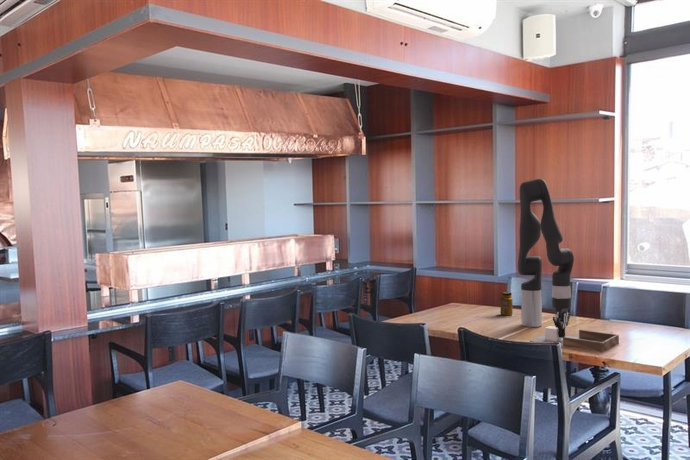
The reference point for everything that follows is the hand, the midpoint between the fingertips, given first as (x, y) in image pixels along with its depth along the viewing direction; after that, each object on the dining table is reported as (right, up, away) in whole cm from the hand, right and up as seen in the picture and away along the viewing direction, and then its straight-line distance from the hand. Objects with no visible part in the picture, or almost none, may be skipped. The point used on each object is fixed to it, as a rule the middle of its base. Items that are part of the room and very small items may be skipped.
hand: (561, 337), depth 246 cm
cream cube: (-3, -1, +2) cm, 4 cm away
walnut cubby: (+9, -2, -8) cm, 12 cm away
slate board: (+4, -2, -3) cm, 6 cm away
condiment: (-7, 0, +59) cm, 60 cm away
